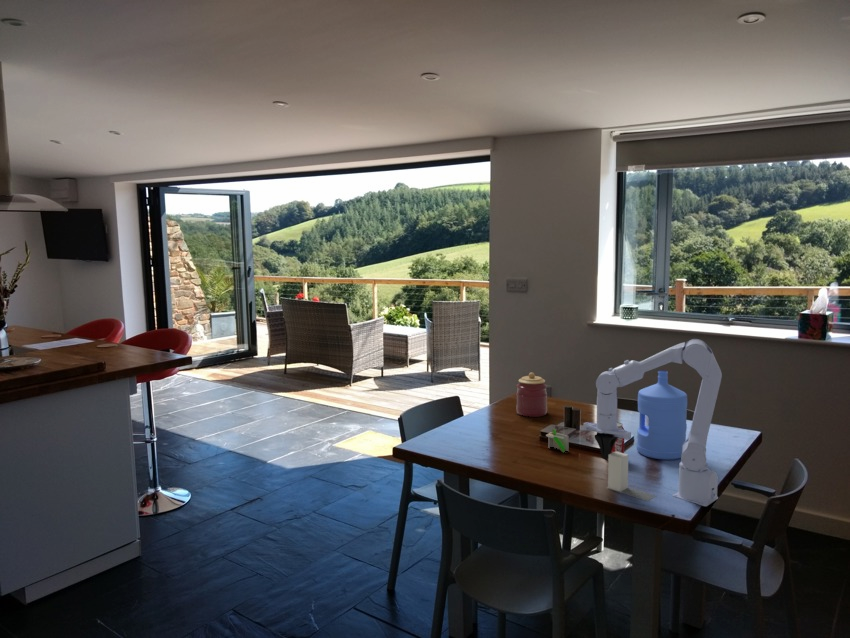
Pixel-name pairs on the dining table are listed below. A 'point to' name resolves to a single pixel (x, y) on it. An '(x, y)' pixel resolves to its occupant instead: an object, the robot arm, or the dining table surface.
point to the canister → (531, 396)
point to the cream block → (618, 471)
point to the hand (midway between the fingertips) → (606, 458)
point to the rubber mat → (636, 494)
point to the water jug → (662, 420)
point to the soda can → (618, 442)
